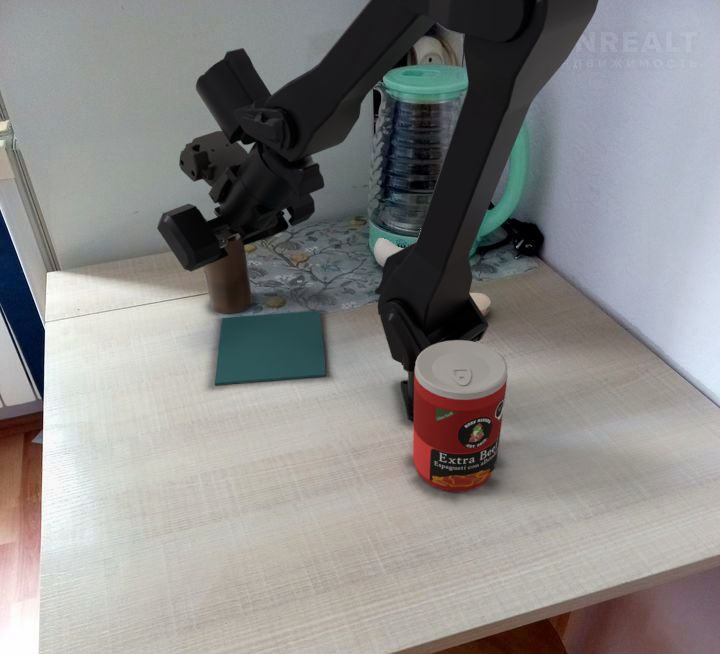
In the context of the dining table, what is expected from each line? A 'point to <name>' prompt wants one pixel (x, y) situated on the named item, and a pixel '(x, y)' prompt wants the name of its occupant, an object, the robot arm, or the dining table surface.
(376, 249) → the donut
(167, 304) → the dining table surface
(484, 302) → the cream clam shell
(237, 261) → the pepper mill
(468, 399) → the canned food
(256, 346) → the napkin
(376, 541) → the dining table surface
